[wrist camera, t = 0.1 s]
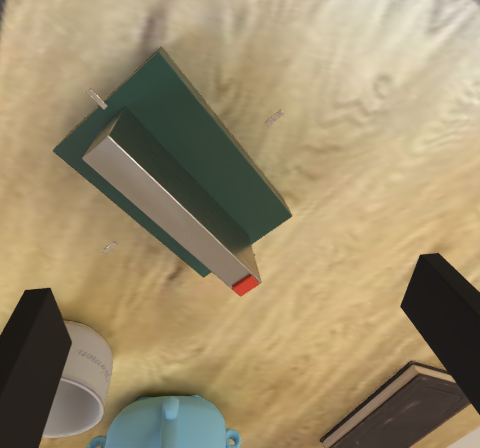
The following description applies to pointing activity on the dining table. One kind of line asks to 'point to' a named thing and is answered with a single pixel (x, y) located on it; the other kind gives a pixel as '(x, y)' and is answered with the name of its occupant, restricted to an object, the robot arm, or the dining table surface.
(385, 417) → the hardcover book
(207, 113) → the green block
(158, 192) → the red-tipped metal bar
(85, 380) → the teacup
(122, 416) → the decorative pot
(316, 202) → the dining table surface
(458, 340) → the robot arm
